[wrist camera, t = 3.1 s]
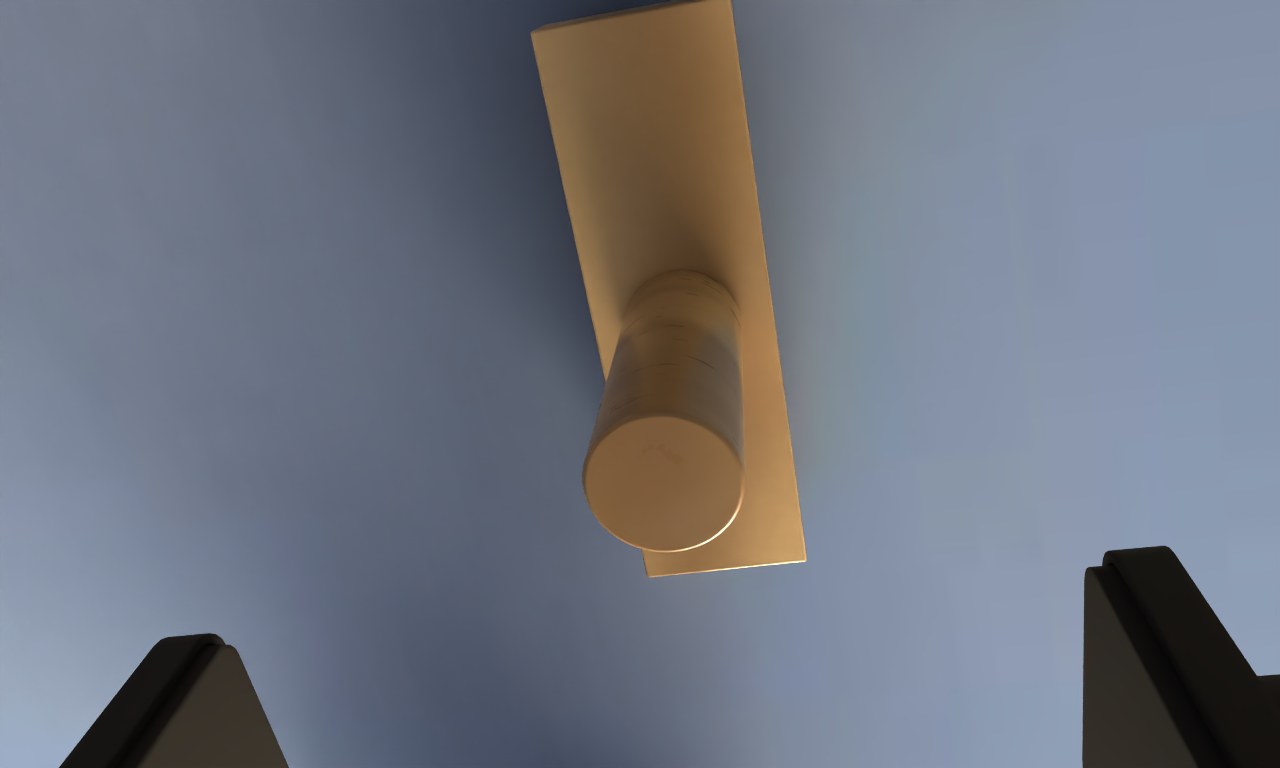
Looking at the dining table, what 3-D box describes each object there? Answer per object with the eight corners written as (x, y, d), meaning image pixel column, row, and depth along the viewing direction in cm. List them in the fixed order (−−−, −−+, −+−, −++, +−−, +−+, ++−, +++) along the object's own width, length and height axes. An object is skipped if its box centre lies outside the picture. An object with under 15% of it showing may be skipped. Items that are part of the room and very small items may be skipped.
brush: (655, 514, 28) (618, 800, 19) (553, 18, 23) (433, 82, 13) (799, 498, 27) (833, 785, 18) (729, -15, 22) (728, 28, 13)
